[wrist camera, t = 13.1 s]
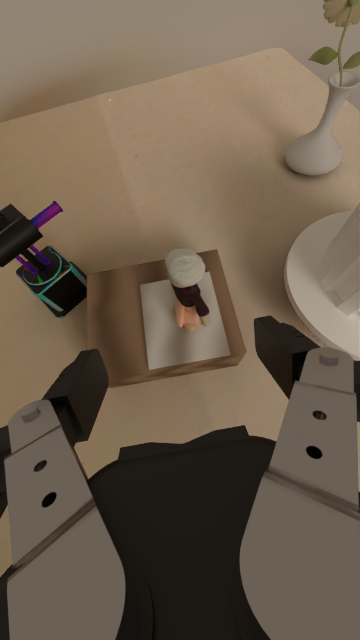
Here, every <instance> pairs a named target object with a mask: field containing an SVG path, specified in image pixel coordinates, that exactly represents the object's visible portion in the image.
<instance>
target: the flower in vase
mask: <svg viewBox="0 0 360 640" xmlns="http://www.w3.org/2000/svg"><path fill="white" fill-rule="evenodd" d="M324 2H325V3H324V5H323V9H324V10H326V11H325V13H324V17H325V19H327V20H328V22H329V23H333V22H335V21H336V24H335V25H336V27H339V26H340V27H345V28H344V31H343V34H342V37H341V41H340V44H339V48H338V53H337V52H336V51H335V50H333V49H332V48H330V47H323V48H321V49H319V50H318V51H316V52H315V53H314V54H313V55H312V56H311V57H310V58H309V60H311V61H315V62H318V63H320V64H323V65H327V64H329V63H330V62H331V61H332V60H334V59H335V58H336V57H337V55H338V63H339V71H340V72H337V73H334V74H332V75H330V76H329V78H328V83H329V96H328V101H327V104H326V108H325V111H324V114H323V116H322V119H321V121H320V123H319V125H318V126H317V128H316V129H315V130H313V131H312V132H310V133H308V134H305V135H303V136H301V137H299V138H298V139H296V140H295V141H293V142H292V143H291V144H290V145H289V146H288V148H287V149H286V151H285V155H284V157H285V161H286V163H287V165H288V166H289V167H290V168H291V169H292V170H293V171H295V172H297V173H300V174H303V175H309V176H317V175H323V174H326V173H328V172H330V171H332V170H333V169H335V168H336V167H337V166H338V165H339V164H340V162H341V158H342V150H341V148H340V145H339V143H338V142H337V140H336V139H335V138H334V136H333V135H332V133H331V128H332V124H333V122H334V119H335V117H336V115H337V113H338V111H339V109H340V107H341V105H342V104H343V102H344V100H345V99H346V97H347V96H348V95H349V93H350V92H351V91H352V90H353V89H354V88H355V87H356V86H357V85H359V84H360V76H359V75H358V74H356V73H353V72H346V71H342V66H341V56H340V50H341V44H342V40H343V38H344V34H345V31H346V28H347V27H348V26H349V25H350V24H351V23H352V24H353V25H354V24H357V23H358V22H359V21H360V0H324ZM359 65H360V52H357V53H355V54H354V55H353V56H351V57H350V59H349V60H348V61H347V62H346V63H345V65H344V67H343V69H349V68H354V67H357V66H359Z"/></svg>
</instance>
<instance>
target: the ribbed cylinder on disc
mask: <svg viewBox="0 0 360 640" xmlns="http://www.w3.org/2000/svg"><path fill="white" fill-rule="evenodd" d="M284 282H285V288H286V292H287V295H288V298H289V300H290V302H291V304H292V307H293V308H294V310H295V312H296V313H297V315H298V316H299V318H300V319H301V320H302V322H303V323H304V324H305V325H306V326H307V327H308V329H309V330H310V331H311V332H312V333H313V334H315V335H316V336H317V337H318V338H319V339H320V340H322V341H323V342H324V343H326V344H327V345H328V346H330V347H331V348H334V349H338V350H341V351H344V352H346V353H348V354H349V355H350V356H351V357H352V358H353V360H356V361H360V203H359V205H358V206H357V207H356V209H355V210H349V211H343V212H338V213H334V214H331V215H328V216H326V217H323V218H321V219H319V220H317V221H316V222H314V223H312V224H311V225H310V226H308V227H307V228H306V229H305V230H304V231H303V232H302V233H301V234H300V235H299V236H298V237H297V239H296V240H295V242H294V243H293V245H292V247H291V249H290V251H289V253H288V255H287V258H286V262H285V267H284Z"/></svg>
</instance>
